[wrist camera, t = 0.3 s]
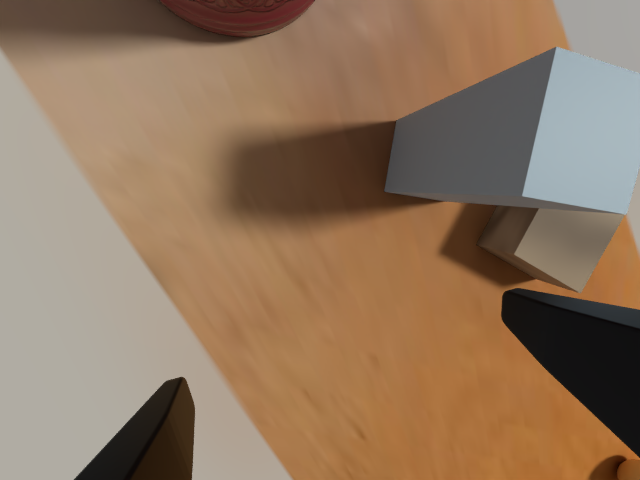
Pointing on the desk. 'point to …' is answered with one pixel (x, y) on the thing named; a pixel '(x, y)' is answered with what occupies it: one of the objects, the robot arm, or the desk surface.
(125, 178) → the desk surface
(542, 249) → the beige block
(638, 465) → the figurine
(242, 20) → the canister
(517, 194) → the blue pillar
